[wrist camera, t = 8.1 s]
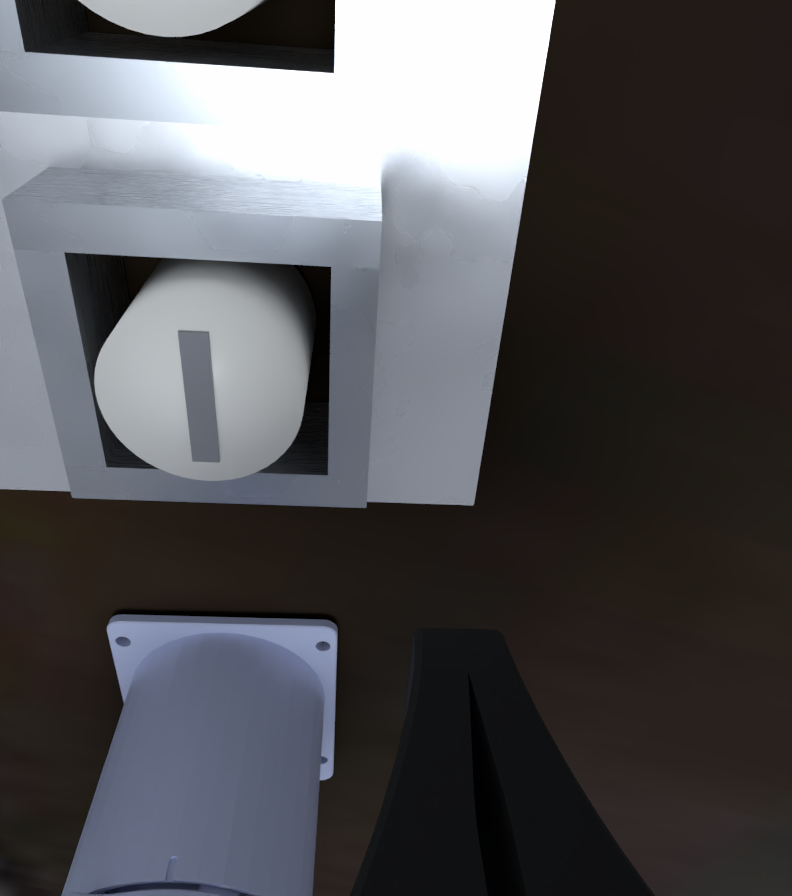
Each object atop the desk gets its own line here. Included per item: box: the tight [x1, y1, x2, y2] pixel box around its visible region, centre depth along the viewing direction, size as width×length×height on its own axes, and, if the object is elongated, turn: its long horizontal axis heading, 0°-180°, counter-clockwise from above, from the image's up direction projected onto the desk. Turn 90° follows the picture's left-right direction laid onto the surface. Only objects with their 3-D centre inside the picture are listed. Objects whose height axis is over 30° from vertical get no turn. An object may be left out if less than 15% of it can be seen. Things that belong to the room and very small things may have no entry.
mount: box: [0, 0, 555, 508], centre depth 15 cm, size 20×14×4 cm
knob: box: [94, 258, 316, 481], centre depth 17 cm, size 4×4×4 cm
